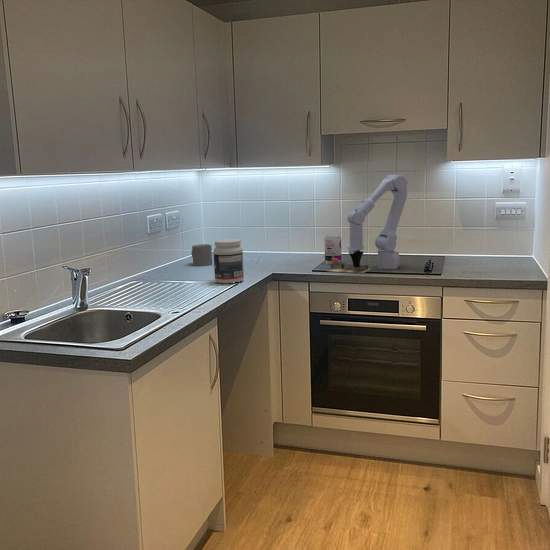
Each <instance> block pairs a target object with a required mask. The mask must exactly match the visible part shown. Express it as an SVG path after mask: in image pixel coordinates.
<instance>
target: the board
mask: <svg viewBox="0 0 550 550" xmlns="http://www.w3.org/2000/svg"><path fill="white" fill-rule="evenodd" d="M370 270H372V268H370V267H368V269H367V270H356V269H331V268H328V269H327V270H326V272H337V273H352V274H353V273H354V274H355V273H357V274H365V273H366V272H369V271H370Z"/></svg>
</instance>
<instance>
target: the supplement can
mask: <svg viewBox="0 0 550 550" xmlns="http://www.w3.org/2000/svg"><path fill="white" fill-rule="evenodd" d="M332 258H338V262H342V258H343V257H342V236H341V235H340V234H326V235H325V237H324V264H325V265H327V266H328V265H330V266H331V264H332ZM342 263H343V262H342Z"/></svg>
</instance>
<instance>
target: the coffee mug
mask: <svg viewBox="0 0 550 550" xmlns="http://www.w3.org/2000/svg"><path fill="white" fill-rule="evenodd" d="M212 247H213V246H212V244H208V243H206V244H205V243H204V244H194V245H192V246H191V257H192V266H194V267H209V266H212V265H213V251H212V250H213V249H212Z"/></svg>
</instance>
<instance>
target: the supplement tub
mask: <svg viewBox="0 0 550 550" xmlns="http://www.w3.org/2000/svg"><path fill="white" fill-rule="evenodd" d="M213 244H214V248H213V251H212V254H213V267H214V281H215V282H216V283H217V282H219V283H218V284H220V283H233V282H239V283H241V282H243V281H244V279H245V275H244V252H243V251H244V250H243V247H242V246H241V244H242V242H241V239H238V238H223V239H217V240H214V243H213ZM240 281H241V282H240Z"/></svg>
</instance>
